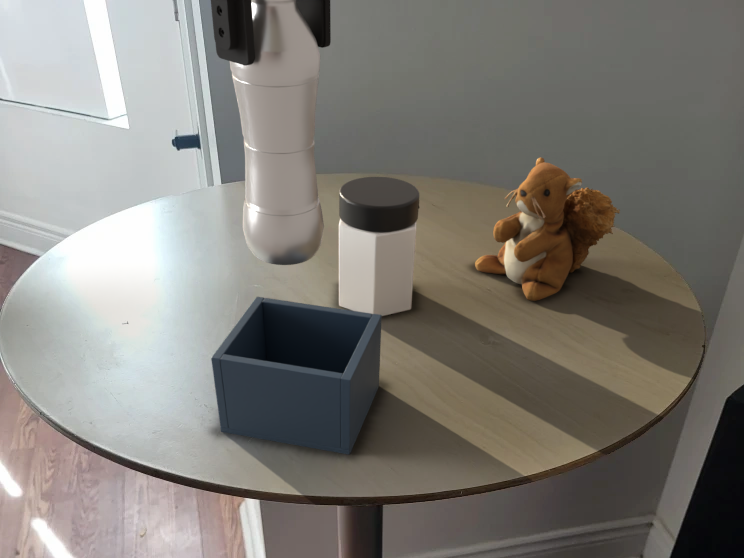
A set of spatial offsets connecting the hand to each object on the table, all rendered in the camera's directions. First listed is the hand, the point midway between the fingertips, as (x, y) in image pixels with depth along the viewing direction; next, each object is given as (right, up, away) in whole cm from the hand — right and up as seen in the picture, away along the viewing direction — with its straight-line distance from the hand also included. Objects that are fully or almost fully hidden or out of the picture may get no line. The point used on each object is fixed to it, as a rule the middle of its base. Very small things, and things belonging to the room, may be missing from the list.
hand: (275, 49), depth 53 cm
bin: (0, -23, +17) cm, 29 cm away
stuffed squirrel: (+26, -5, +38) cm, 46 cm away
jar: (+7, -9, +33) cm, 35 cm away
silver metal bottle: (-1, -11, +10) cm, 15 cm away
